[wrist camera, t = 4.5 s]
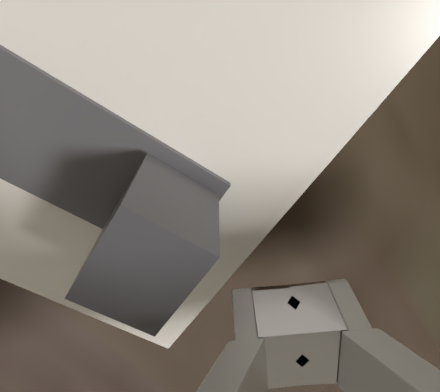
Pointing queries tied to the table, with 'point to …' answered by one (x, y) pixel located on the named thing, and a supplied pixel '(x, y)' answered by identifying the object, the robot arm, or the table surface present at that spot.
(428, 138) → the table surface
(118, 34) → the switch panel
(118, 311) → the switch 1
